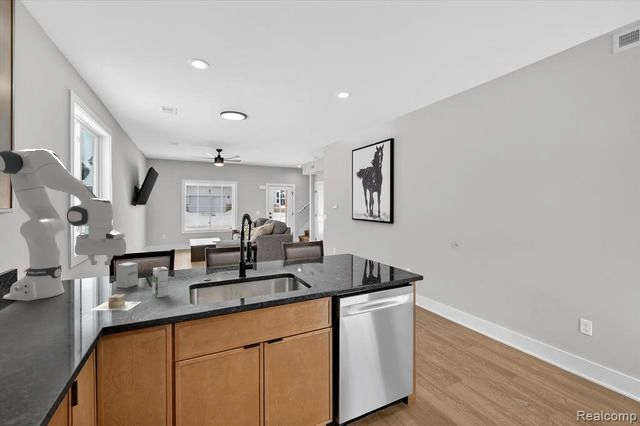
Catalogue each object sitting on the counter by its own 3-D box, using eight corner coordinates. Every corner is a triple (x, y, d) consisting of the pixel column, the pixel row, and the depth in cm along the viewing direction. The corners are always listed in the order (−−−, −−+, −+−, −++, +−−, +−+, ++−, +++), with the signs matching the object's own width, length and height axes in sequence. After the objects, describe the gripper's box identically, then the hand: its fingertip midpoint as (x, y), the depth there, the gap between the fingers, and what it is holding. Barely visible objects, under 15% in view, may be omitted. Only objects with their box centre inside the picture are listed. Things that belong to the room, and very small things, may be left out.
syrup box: (151, 295, 146) (152, 267, 145) (164, 293, 150) (164, 266, 150) (155, 298, 142) (155, 269, 142) (168, 296, 146) (168, 268, 146)
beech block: (108, 307, 128) (108, 297, 128) (114, 304, 132) (115, 294, 132) (118, 307, 128) (119, 297, 128) (125, 304, 133) (125, 294, 133)
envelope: (89, 311, 124) (89, 310, 124) (106, 302, 135) (106, 301, 135) (127, 311, 125) (127, 310, 125) (141, 302, 136) (141, 301, 136)
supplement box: (127, 288, 157) (127, 265, 156) (115, 287, 158) (115, 264, 158) (138, 284, 164) (138, 262, 164) (127, 283, 166) (127, 261, 165)
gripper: (70, 234, 125) (70, 266, 125) (119, 235, 126) (119, 266, 127) (81, 233, 131) (81, 262, 132) (128, 234, 133) (128, 263, 133)
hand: (100, 264), depth 129 cm, fingers open, 4 cm apart
